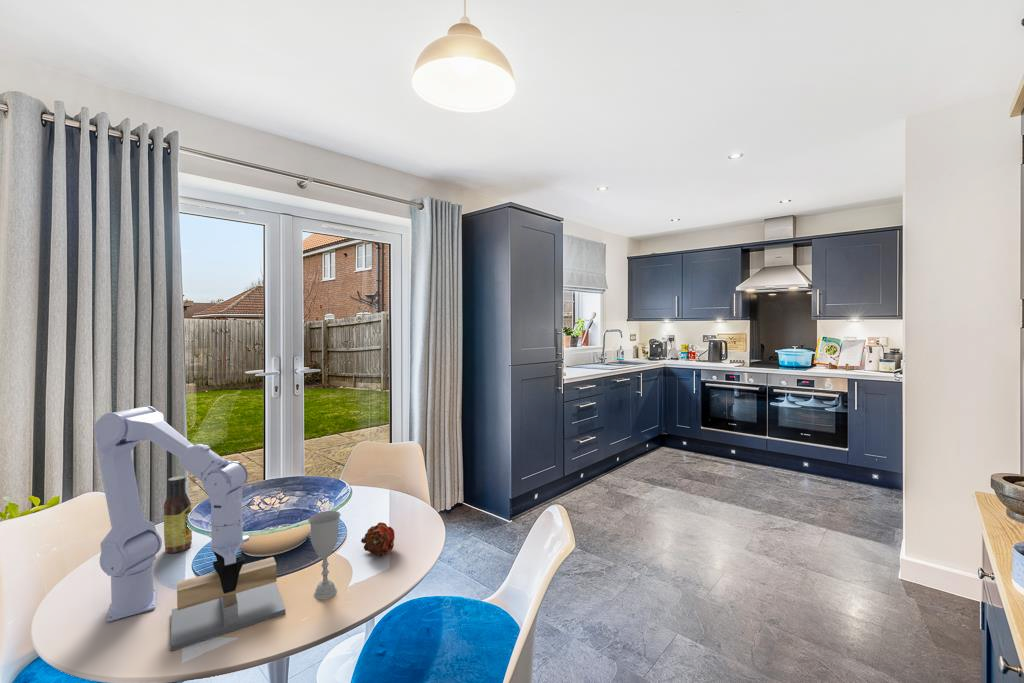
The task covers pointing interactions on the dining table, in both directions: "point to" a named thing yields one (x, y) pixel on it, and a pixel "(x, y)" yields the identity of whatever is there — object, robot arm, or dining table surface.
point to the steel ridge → (229, 610)
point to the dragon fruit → (379, 539)
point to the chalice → (324, 547)
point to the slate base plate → (209, 617)
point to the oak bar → (211, 587)
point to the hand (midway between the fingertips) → (228, 583)
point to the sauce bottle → (177, 516)
